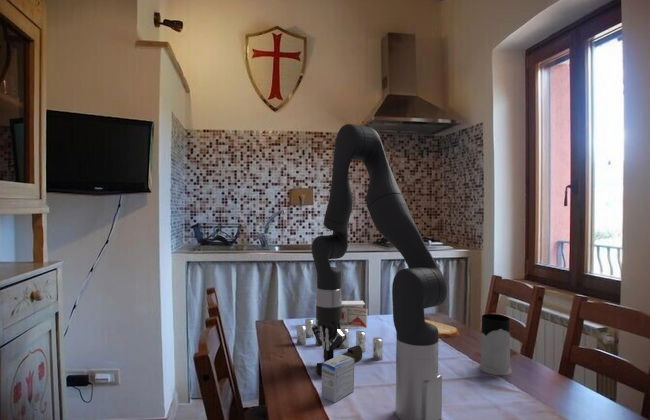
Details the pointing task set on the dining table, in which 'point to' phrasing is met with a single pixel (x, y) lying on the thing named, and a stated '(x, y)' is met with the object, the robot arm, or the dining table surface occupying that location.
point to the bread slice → (445, 330)
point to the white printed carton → (353, 315)
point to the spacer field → (307, 332)
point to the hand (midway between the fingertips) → (328, 361)
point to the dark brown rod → (351, 352)
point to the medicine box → (337, 378)
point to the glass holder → (495, 344)
